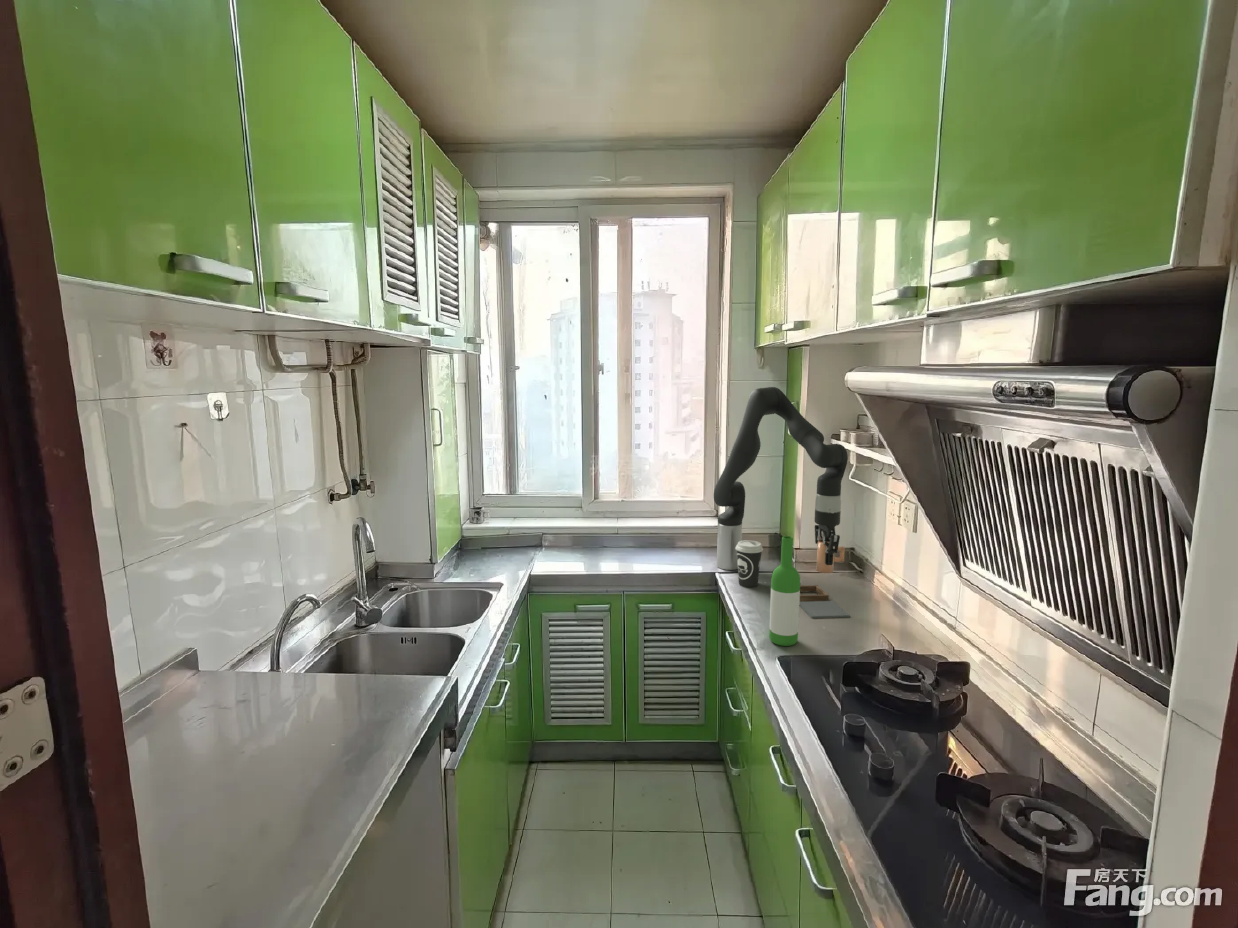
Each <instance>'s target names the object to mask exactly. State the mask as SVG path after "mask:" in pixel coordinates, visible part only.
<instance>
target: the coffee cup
mask: <svg viewBox="0 0 1238 928" xmlns="http://www.w3.org/2000/svg"><path fill="white" fill-rule="evenodd" d="M735 549H736V550H737V561H738V569H737V575H738V576H737V577H738V585H739V586H741V587H743V588H756V587H757V586H758V584H759V574H760V567H761V561H762V560H761V559H762V553H763V551H764V548H763V546H762V543H761V542H759V541H757V540H748V539H747V540H742V541H739V542H738V544H737V545H736V548H735Z"/></svg>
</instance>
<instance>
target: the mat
mask: <svg viewBox="0 0 1238 928" xmlns="http://www.w3.org/2000/svg"><path fill="white" fill-rule="evenodd" d="M799 605H800V606H799V608H801V609H802V610H803V611H804V612H805V613H806V614H807V615H808V616H809V617H810V618H811V619H829V618H833V619H834V618H850V617H851V615H850V614H849V613H848V612H847V611H846V610H844V608H842V607H841V606H840V605H839V604H838V603H837V602H836V601H834V600H828V601H806V602H799Z"/></svg>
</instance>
